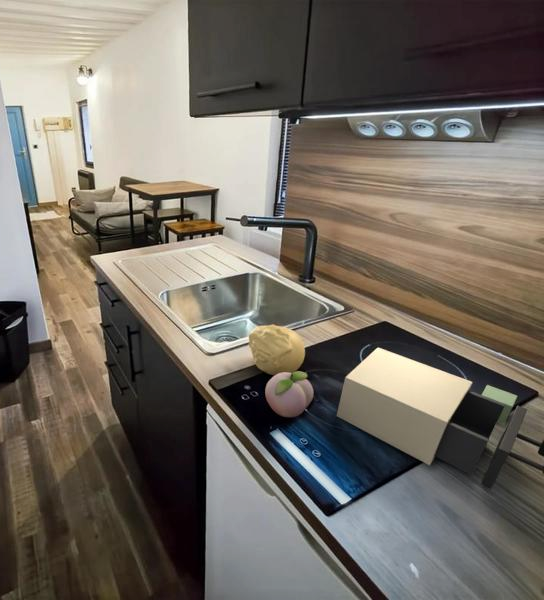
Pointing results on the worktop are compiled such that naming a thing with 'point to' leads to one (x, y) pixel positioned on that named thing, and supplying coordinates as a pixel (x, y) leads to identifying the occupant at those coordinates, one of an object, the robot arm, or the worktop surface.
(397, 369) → the cream rectangular box
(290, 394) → the decorative fruit
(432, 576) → the worktop surface
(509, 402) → the block
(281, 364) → the tan lumpy ball
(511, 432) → the dark grey drawer
